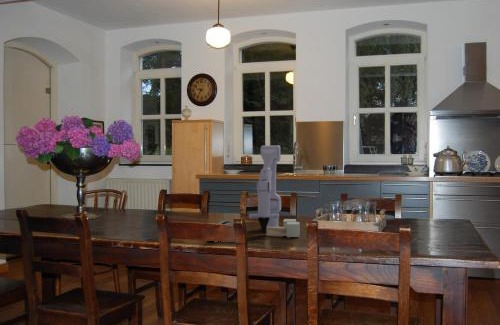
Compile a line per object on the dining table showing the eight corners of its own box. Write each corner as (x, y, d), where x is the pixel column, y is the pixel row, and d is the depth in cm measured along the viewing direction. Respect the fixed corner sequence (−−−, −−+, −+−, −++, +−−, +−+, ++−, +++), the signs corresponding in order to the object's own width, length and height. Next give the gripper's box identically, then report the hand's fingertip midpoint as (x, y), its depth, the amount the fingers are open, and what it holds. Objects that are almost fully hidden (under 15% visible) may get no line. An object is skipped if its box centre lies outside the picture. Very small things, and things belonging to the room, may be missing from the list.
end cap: (287, 234, 237) (287, 221, 237) (299, 234, 237) (299, 221, 237) (286, 237, 229) (286, 224, 229) (299, 237, 229) (299, 224, 229)
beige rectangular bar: (267, 234, 237) (267, 226, 237) (296, 235, 236) (296, 227, 235) (266, 236, 233) (266, 227, 233) (296, 236, 232) (296, 228, 231)
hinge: (224, 236, 232) (230, 217, 231) (232, 240, 230) (238, 221, 229) (205, 242, 217) (212, 221, 215) (214, 246, 215) (221, 226, 214)
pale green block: (284, 231, 248) (284, 218, 247) (295, 231, 247) (295, 219, 247) (283, 233, 240) (283, 221, 239) (295, 234, 239) (295, 221, 239)
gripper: (248, 205, 231) (248, 234, 232) (278, 206, 230) (278, 234, 230) (249, 204, 238) (249, 231, 239) (279, 204, 237) (279, 232, 237)
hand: (263, 233), depth 235 cm, fingers closed
